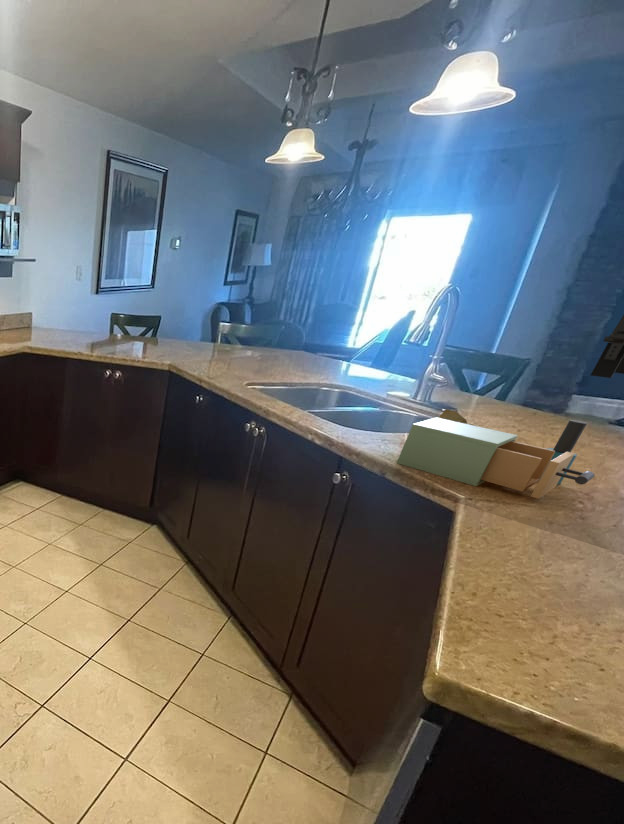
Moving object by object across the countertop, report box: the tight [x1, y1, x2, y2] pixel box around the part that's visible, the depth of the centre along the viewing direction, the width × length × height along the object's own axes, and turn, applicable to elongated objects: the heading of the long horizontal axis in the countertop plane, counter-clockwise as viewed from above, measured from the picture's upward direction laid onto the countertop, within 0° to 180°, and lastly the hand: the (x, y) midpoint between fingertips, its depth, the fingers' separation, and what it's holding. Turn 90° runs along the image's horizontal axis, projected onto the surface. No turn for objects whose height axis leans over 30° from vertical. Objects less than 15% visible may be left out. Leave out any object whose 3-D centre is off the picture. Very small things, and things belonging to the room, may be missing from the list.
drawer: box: [481, 441, 595, 499], centre depth 104 cm, size 18×13×8 cm
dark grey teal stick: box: [538, 419, 588, 486], centre depth 108 cm, size 5×5×14 cm
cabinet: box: [396, 416, 519, 487], centre depth 113 cm, size 15×14×10 cm
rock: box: [438, 408, 468, 424], centre depth 128 cm, size 11×9×10 cm
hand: (607, 374), depth 101 cm, fingers open, 13 cm apart
